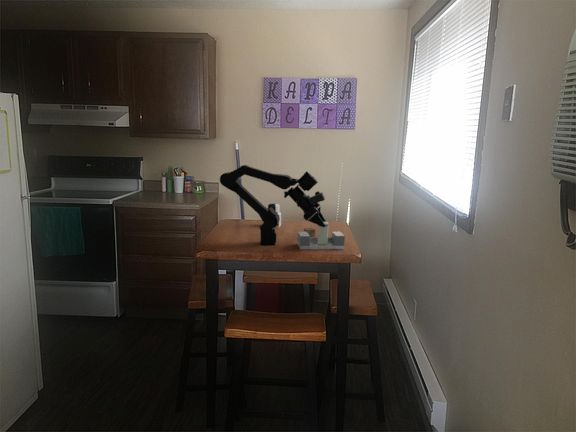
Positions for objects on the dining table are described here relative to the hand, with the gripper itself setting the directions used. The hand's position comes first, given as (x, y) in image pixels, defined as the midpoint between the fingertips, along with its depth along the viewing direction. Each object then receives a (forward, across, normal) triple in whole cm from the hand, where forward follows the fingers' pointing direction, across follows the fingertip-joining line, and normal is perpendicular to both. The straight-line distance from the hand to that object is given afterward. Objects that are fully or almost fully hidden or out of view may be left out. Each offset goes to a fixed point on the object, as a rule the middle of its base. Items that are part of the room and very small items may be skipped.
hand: (325, 225), depth 190 cm
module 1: (-1, -3, +12) cm, 12 cm away
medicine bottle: (-14, +38, +28) cm, 49 cm away
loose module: (+5, 0, +6) cm, 8 cm away
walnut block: (+1, +18, +13) cm, 22 cm away
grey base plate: (+6, -1, +8) cm, 10 cm away
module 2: (+10, +1, +2) cm, 10 cm away
